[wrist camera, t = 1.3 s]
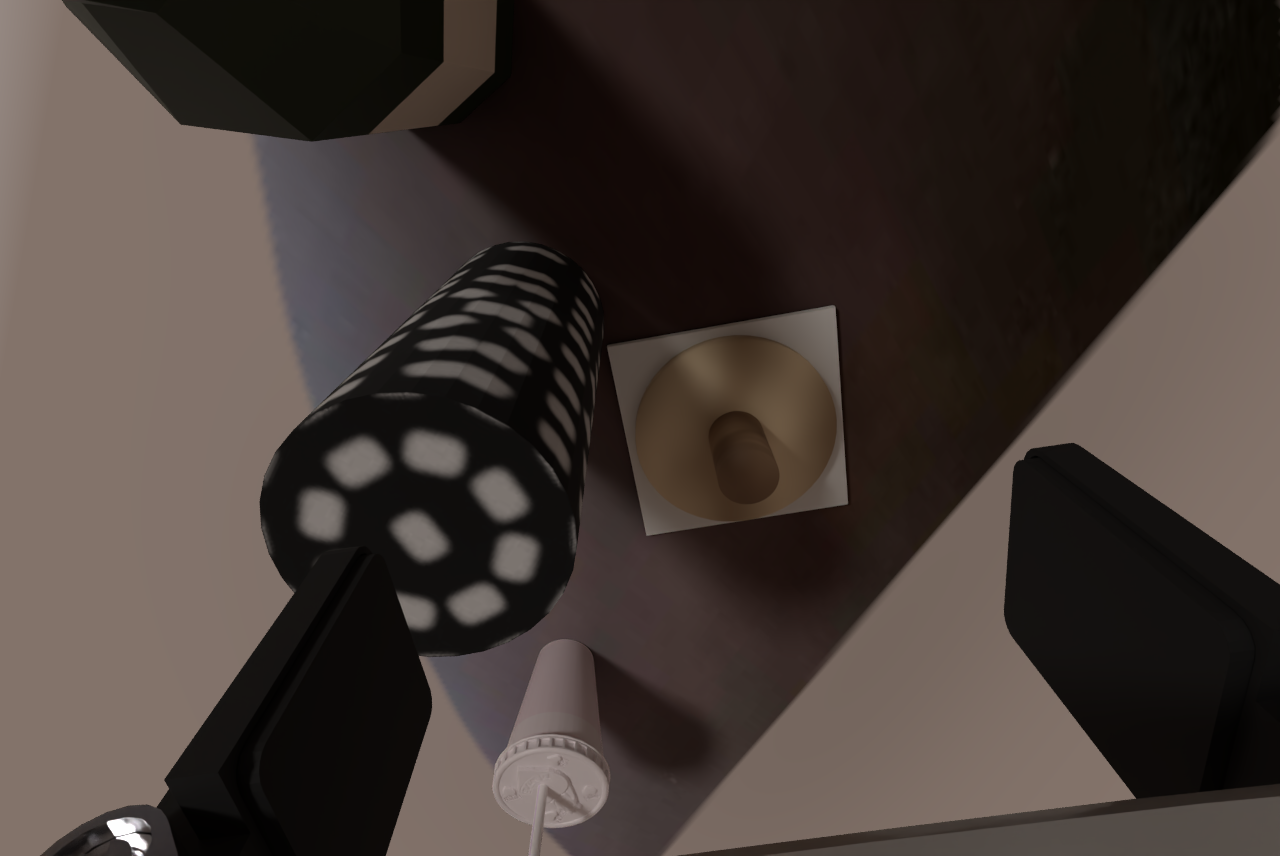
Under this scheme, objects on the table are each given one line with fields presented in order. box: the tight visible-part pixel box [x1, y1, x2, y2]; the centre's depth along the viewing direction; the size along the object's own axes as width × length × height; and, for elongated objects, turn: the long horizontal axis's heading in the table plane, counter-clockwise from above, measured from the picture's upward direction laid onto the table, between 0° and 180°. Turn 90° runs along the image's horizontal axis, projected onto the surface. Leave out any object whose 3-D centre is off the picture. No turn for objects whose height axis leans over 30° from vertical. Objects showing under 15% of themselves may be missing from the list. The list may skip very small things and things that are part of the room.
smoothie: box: [492, 639, 611, 856], centre depth 40 cm, size 6×6×14 cm
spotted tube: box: [260, 242, 604, 657], centre depth 28 cm, size 8×8×20 cm
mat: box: [607, 305, 848, 536], centre depth 39 cm, size 12×12×1 cm
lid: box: [635, 335, 837, 521], centre depth 37 cm, size 11×11×6 cm
